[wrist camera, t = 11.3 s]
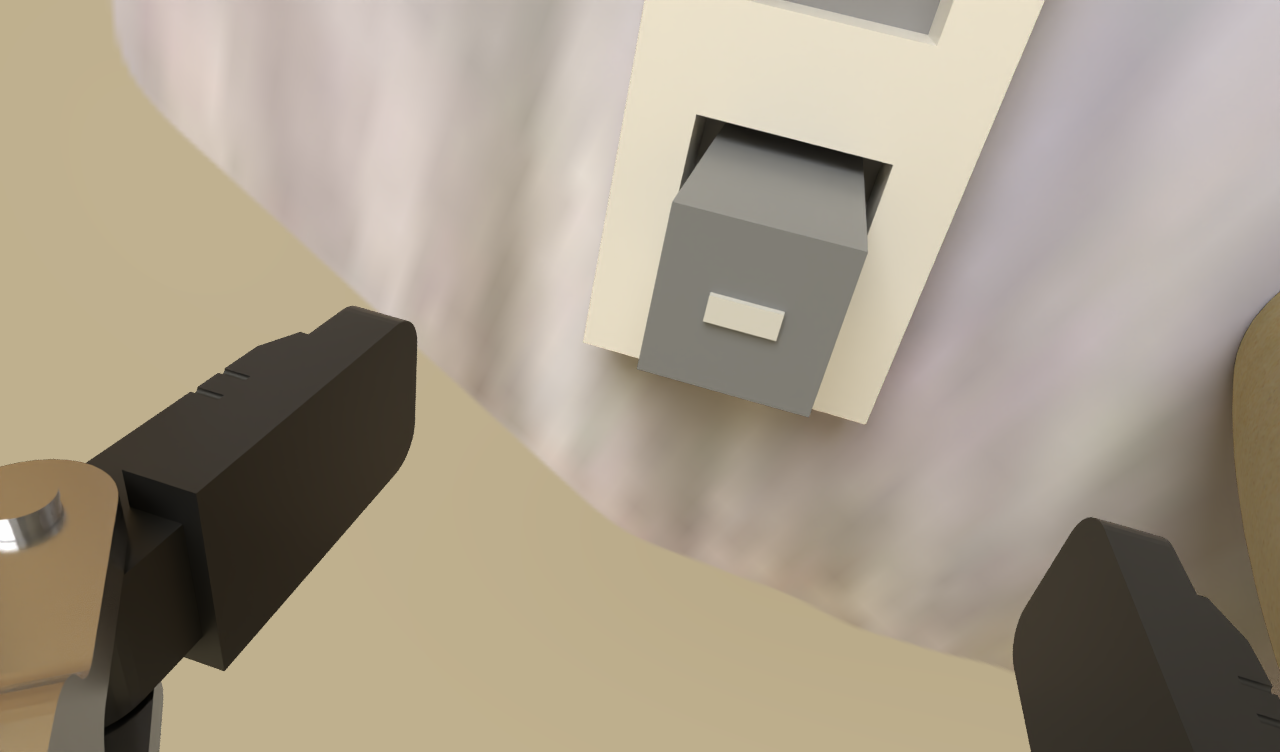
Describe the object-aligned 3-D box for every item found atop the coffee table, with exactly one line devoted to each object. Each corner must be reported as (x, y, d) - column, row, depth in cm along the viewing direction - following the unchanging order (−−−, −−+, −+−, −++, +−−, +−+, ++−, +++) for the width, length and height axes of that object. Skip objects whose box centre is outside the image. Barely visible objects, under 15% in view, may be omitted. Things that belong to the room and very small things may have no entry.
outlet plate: (1149, -320, 19) (1197, -361, 16) (864, 381, 29) (865, 424, 26) (741, -397, 20) (725, -448, 17) (605, 307, 30) (583, 342, 27)
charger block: (862, 156, 25) (868, 254, 17) (820, 283, 27) (808, 421, 20) (725, 122, 26) (670, 204, 18) (695, 250, 28) (634, 372, 20)
